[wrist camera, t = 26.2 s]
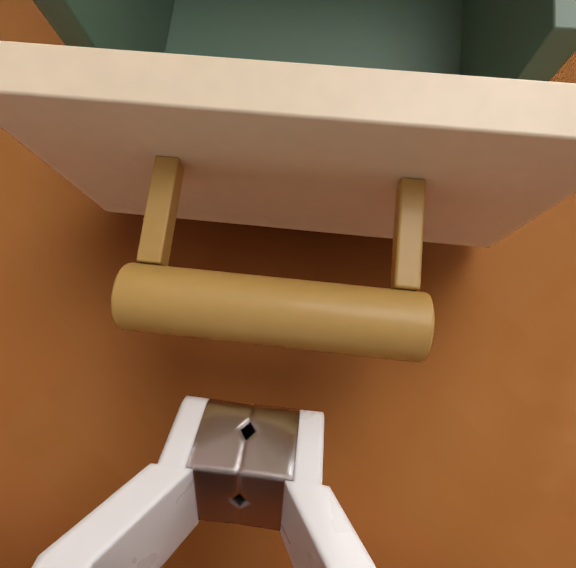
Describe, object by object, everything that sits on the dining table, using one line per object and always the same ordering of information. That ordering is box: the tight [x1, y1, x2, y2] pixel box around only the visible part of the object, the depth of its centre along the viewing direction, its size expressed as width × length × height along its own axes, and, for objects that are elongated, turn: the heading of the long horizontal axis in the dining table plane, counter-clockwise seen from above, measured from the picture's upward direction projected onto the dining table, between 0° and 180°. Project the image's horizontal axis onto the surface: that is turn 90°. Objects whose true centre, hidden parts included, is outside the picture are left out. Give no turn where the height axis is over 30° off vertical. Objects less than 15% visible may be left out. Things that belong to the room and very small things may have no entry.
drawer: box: [0, 0, 576, 363], centre depth 12 cm, size 19×14×7 cm
